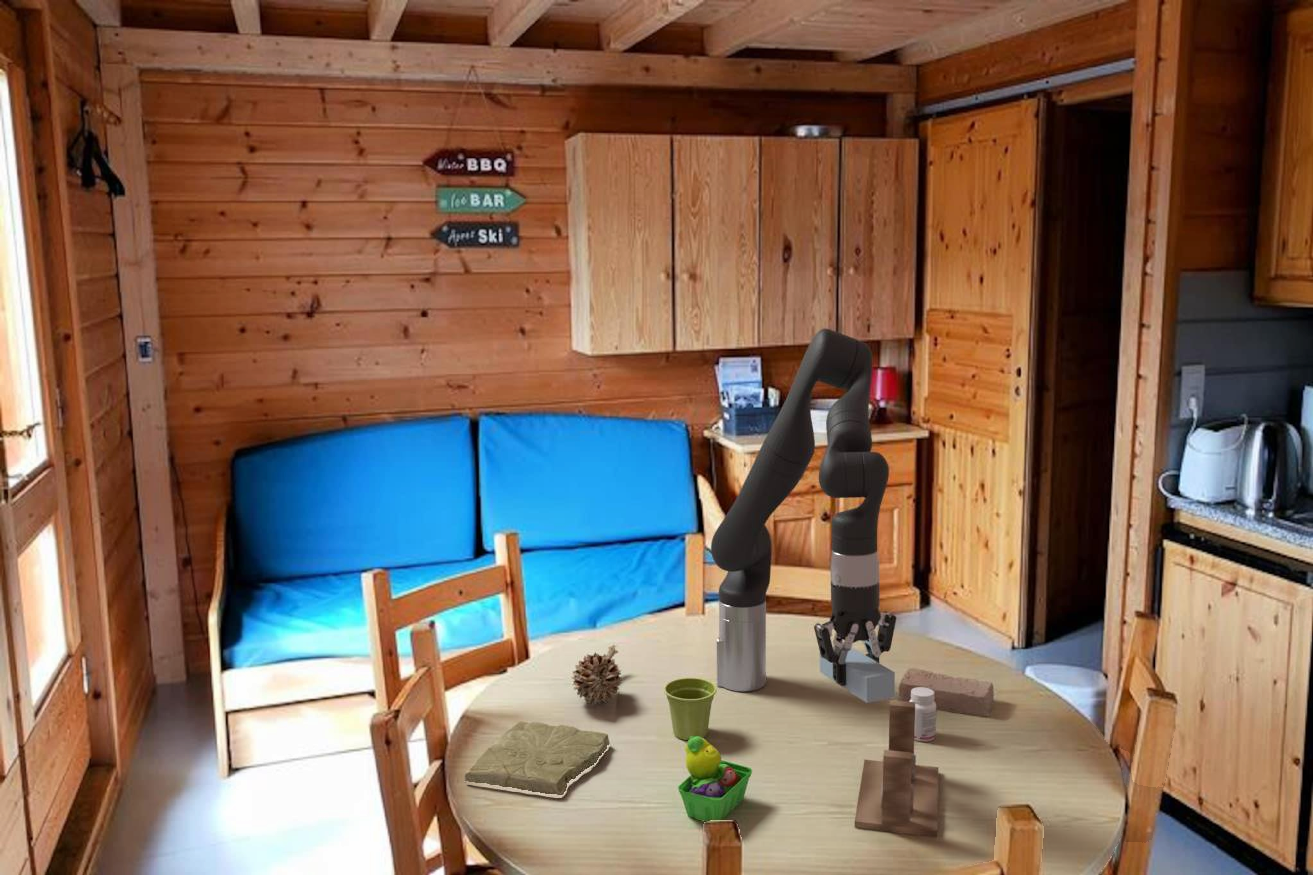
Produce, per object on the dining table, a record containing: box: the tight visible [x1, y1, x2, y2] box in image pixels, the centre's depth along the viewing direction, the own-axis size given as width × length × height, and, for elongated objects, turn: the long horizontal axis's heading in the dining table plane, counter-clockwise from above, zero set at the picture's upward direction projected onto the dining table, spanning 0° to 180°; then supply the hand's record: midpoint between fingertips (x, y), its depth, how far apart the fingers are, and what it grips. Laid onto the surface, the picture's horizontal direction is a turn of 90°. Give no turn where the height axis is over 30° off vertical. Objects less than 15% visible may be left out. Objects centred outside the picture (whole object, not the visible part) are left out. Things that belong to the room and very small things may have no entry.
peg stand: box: [854, 699, 939, 838], centre depth 171 cm, size 12×20×12 cm, turn 165°
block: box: [819, 645, 896, 704], centre depth 173 cm, size 5×14×4 cm, turn 22°
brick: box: [898, 667, 995, 718], centre depth 207 cm, size 17×8×5 cm, turn 65°
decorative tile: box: [464, 720, 611, 795], centre depth 185 cm, size 19×20×4 cm
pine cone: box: [571, 644, 623, 706], centre depth 213 cm, size 22×10×10 cm, turn 175°
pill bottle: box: [909, 687, 937, 743], centre depth 192 cm, size 5×5×8 cm
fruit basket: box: [677, 736, 753, 822], centre depth 170 cm, size 11×9×11 cm
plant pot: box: [663, 677, 718, 741], centre depth 195 cm, size 9×9×9 cm
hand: (856, 680), depth 174 cm, fingers closed on block, 5 cm apart
